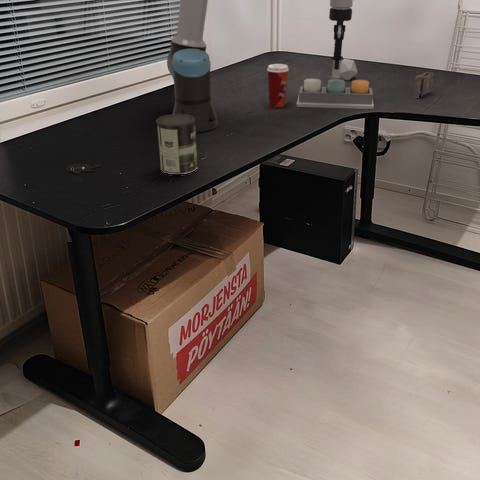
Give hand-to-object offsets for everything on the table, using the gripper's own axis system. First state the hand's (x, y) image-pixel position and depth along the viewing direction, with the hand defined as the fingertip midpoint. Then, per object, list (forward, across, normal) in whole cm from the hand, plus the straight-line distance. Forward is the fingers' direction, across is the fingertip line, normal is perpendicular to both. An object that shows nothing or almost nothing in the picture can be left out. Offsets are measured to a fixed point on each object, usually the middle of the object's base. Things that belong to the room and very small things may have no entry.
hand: (335, 77), depth 215 cm
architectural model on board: (+9, +14, -33) cm, 37 cm away
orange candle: (+7, 0, -9) cm, 11 cm away
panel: (+9, 0, 0) cm, 9 cm away
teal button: (+7, 0, 0) cm, 7 cm away
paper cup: (+10, -5, +20) cm, 23 cm away
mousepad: (+11, -70, +65) cm, 96 cm away
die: (+9, +34, -4) cm, 36 cm away
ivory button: (+7, 0, +8) cm, 11 cm away
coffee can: (+10, -68, +41) cm, 80 cm away
